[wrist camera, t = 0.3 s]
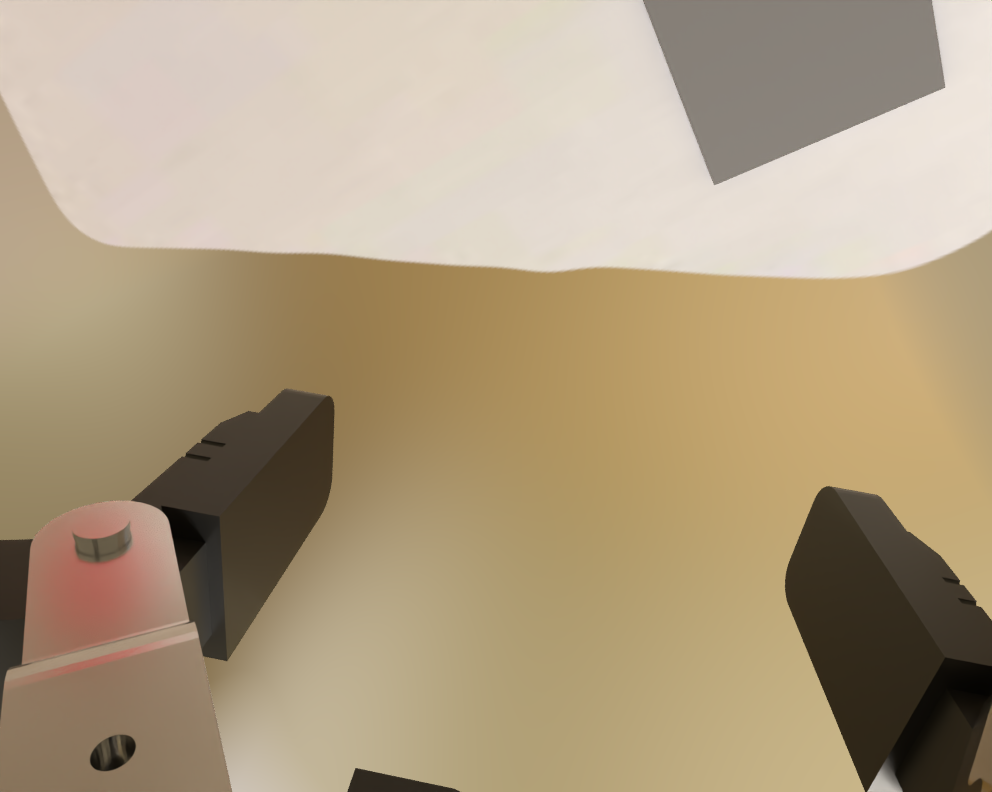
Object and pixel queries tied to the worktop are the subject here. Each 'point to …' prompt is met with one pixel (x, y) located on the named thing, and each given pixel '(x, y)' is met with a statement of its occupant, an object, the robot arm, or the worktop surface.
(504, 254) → the worktop surface
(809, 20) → the mat
